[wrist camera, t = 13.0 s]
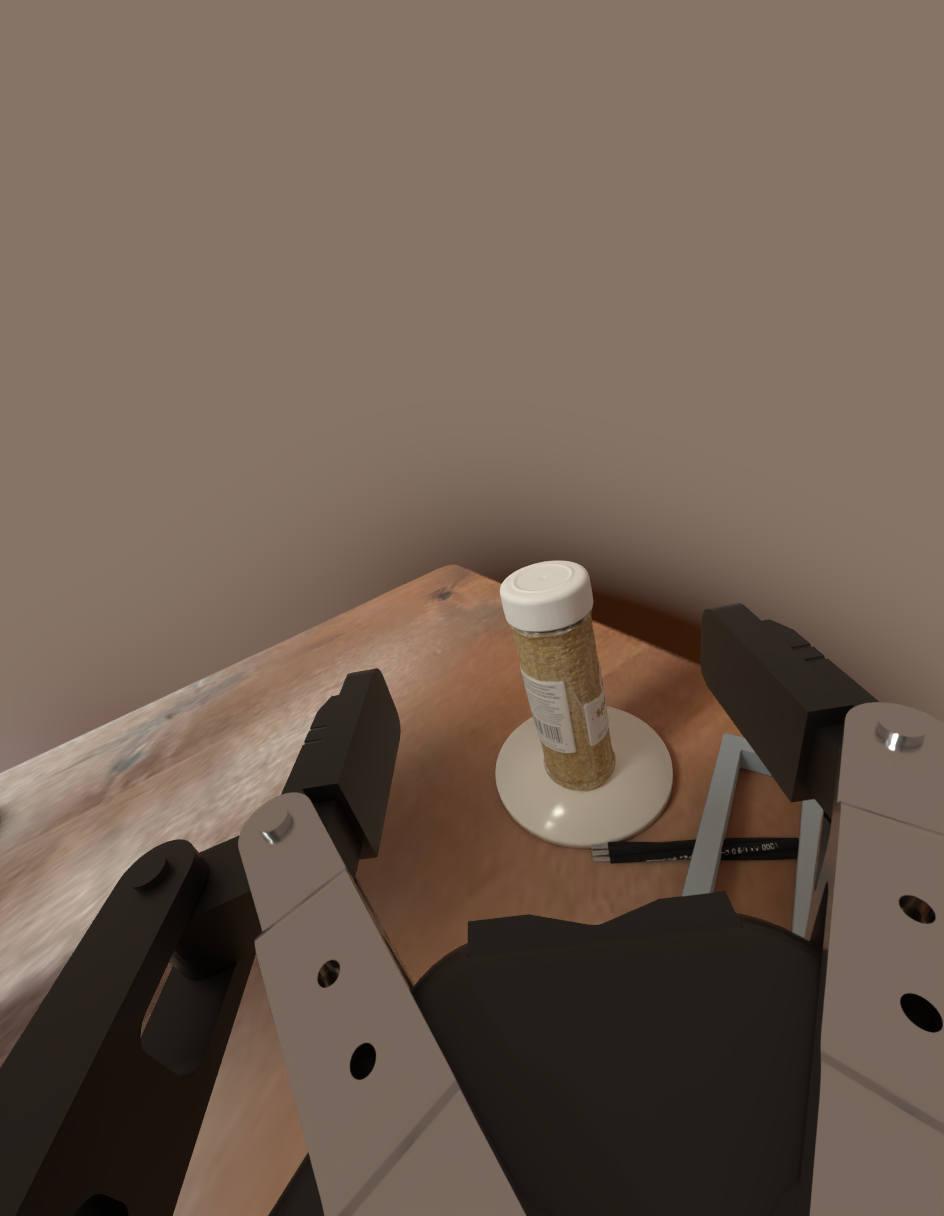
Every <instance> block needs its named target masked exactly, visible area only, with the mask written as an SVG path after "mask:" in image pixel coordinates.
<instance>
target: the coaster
mask: <svg viewBox="0 0 944 1216" xmlns="http://www.w3.org/2000/svg"><path fill="white" fill-rule="evenodd" d="M606 707H607V713H608V719H609V732H610V738H611V744H612V748H613V751H614V753H615V758H616V763H615V769H614V771H613V773H612V775H611V776H610V777H609V778H608V779H607V780H606V781H605V782H604V783H603V784H602V785H600V786H598V787H596V788H594V789H590V790H570V789H567V788H564V787H562V786H560V785H558V784H556V783H555V782H554V781H553V780H552V779H551V778H550V777H549V775H548V774H547V772H546V770H545V767H544V753H543V749H542V746H541V742H540V738H539V736H538V734H537V731H536V727H535V723H534V719H533V717H531V718H530V719H528V720H527V721H525V722H524V723H522V724H521V725H520V726H519V727H518V728H516V729H515V730H514V731H513V732H512V733H511V735H510V736H509V737H508V738H507V740H506V741H505V743H504V744H503V746H502V748H501V750H500V753H499V755H498V759H497V762H496V770H495V775H496V784H497V789H498V792H499V795H500V798H501V800H502V803H503V805H504V807H505V808H506V810H507V812H508V813H509V815H510V816H511V817H512V818H513V820H514V821H515V822H516V823H517V824H519V825H520V826H521V827H522V828H523V829H524V830H526V831H527V832H529V833H530V834H531V835H533V836H535V837H537V838H539V839H541V840H543V841H546V842H549V843H551V844H554V845H558V846H562V847H567V848H576V849H592V848H591V844H592V845H600V844H608V842H625V841H627V840H630V839H632V838H634V837H635V836H637V835H639V834H641V833H642V832H644V831H645V830H646V829H647V828H649V827H650V826H651V825H652V824H653V823H654V822H655V821H656V820H657V819H658V818H659V817H660V815H661V814H662V812H663V811H664V809H665V808H666V806H667V804H668V801H669V799H670V796H671V792H672V788H673V769H672V761H671V758H670V754H669V752H668V750H667V747H666V745H665V743H664V742H663V741H662V739H661V738H660V736H659V735H658V734H657V733H656V732H655V731H654V730H653V729H652V728H651V727H650V726H649V725H648V724H646V723H645V722H644V721H642V720H641V719H639V718H637V717H636V716H634V715H632V714H630V713H628V712H625V711H622V710H620V709H617V708H613V707H609V706H606Z"/></svg>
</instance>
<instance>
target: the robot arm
mask: <svg viewBox="0 0 944 1216" xmlns="http://www.w3.org/2000/svg"><path fill="white" fill-rule="evenodd" d="M701 670H702V674H703V677H704V680H705V682H706V684H707V686H708V688H709V689H710V691H711V692H712V693H713V695H714V696H715V697H716V699H717V700H718V702H719V703H720V704H721V706H722V707H723V709H724V710H725V711H726V713H727V714H728V715H729V717H730V718H731V720H732V721H733V722H734V724H735V725H736V727H737V728H738V729H739V731H740V732H741V734H742V735H743V736H744V738H745V739H746V740H747V742H748V743H749V745H750V746H751V747H752V749H753V750H754V752H755V753H756V754H757V756H758V757H759V758H760V760H761V761H762V763H763V764H764V765H765V767H766V768H767V770H768V771H769V772H770V774H771V775H772V777H773V778H774V779H775V781H776V782H777V783H778V785H779V786H780V788H781V789H782V790H783V792H784V793H785V795H786V796H787V797H788V799H789V800H790V801H791V802H798V801H805V800H812V799H815V800H816V801H817V803H818V804H819V805H820V807H821V808H822V809H823V813H822V817H821V822H820V830H819V838H818V846H817V854H816V862H815V870H814V878H813V887H812V895H811V902H810V909H809V915H808V920H807V925H806V931H805V936H804V938H803V937H801V936H799V935H797V934H795V933H793V932H791V931H789V930H787V929H785V928H783V927H781V926H778V925H775V924H773V923H770V922H768V921H765V920H762V919H758V918H755V917H751V916H747V915H743V914H737V913H735V911H734V909H733V907H732V905H731V902H730V900H729V898H728V896H727V894H726V892H725V891H723V892H715V893H706V894H698V895H689V896H681V897H672V898H664V899H658V900H656V901H654V902H651V903H649V904H647V905H644V906H642V907H640V908H637V909H635V910H633V911H631V912H628V913H626V914H624V915H621V916H619V917H617V918H615V919H612V920H610V921H608V922H605V923H603V924H600V925H587V924H581V923H575V922H569V921H564V920H558V919H552V918H546V917H540V916H534V915H520V916H512V917H503V918H495V919H486V920H478V921H469V922H468V943H467V944H465V945H462V946H460V947H458V948H457V949H455V950H454V951H452V952H450V953H449V954H447V955H445V956H444V957H443V958H442V959H440V960H439V961H438V962H437V963H435V964H434V965H433V966H432V967H431V968H430V969H429V970H428V971H427V972H426V973H425V974H424V975H423V976H422V977H421V978H420V979H419V980H418V982H417V983H416V984H414V982H413V980H412V978H411V977H410V975H409V973H408V971H407V969H406V968H405V966H404V964H403V962H402V961H401V959H400V957H399V955H398V954H397V952H396V950H395V948H394V946H393V944H392V943H391V941H390V939H389V937H388V935H387V933H386V932H385V930H384V928H383V926H382V924H381V922H380V920H379V919H378V917H377V915H376V913H375V911H374V909H373V908H372V906H371V904H370V902H369V900H368V898H367V896H366V895H365V893H364V891H363V889H362V887H361V885H360V884H359V882H358V880H357V878H356V877H355V875H356V871H357V866H358V862H359V859H366V858H374V857H377V856H378V850H379V845H380V840H381V835H382V829H383V824H384V819H385V814H386V808H387V803H388V798H389V793H390V787H391V782H392V777H393V772H394V766H395V761H396V756H397V751H398V746H399V740H400V721H399V716H398V713H397V710H396V708H395V705H394V702H393V700H392V697H391V695H390V692H389V690H388V687H387V685H386V682H385V680H384V677H383V675H382V673H381V671H380V670H379V669H377V668H376V669H371V670H365V671H360V672H354V673H349V674H348V675H347V677H346V679H345V681H344V684H343V687H342V689H341V692H340V694H339V695H336V696H331V697H330V698H329V700H328V701H327V702H326V703H325V704H324V705H323V706H322V707H321V708H320V710H319V711H318V712H317V714H316V716H315V719H314V721H313V723H312V725H311V728H310V729H311V731H309V732H308V734H307V737H306V739H305V741H304V742H305V745H303V746H302V748H301V750H300V753H299V755H298V757H297V760H296V762H295V764H294V766H293V769H292V771H291V773H290V775H289V778H288V780H287V782H286V785H285V787H284V789H283V791H282V794H281V795H280V796H277V797H275V798H273V799H271V800H269V801H268V802H266V803H265V804H263V805H262V806H261V807H260V808H258V809H257V810H256V811H255V812H254V813H253V814H252V815H251V816H250V818H249V819H248V820H247V821H246V823H245V825H244V826H243V828H242V830H241V833H240V835H239V836H237V837H235V838H232V839H230V840H228V841H225V842H223V843H221V844H219V845H216V846H214V847H212V848H209V849H207V850H205V851H202V852H200V853H199V852H198V851H197V850H196V849H195V847H194V846H193V845H192V844H191V843H190V842H189V841H186V840H180V839H179V840H172V841H169V842H166V843H163V844H161V845H159V846H157V847H155V848H153V849H152V850H150V851H149V852H147V853H146V854H144V855H143V856H142V857H140V858H139V859H138V860H137V861H136V862H135V863H134V864H133V865H132V866H131V867H130V868H129V869H128V870H127V871H126V872H125V873H124V874H123V876H122V877H121V878H120V880H119V881H118V883H117V884H116V886H115V887H114V889H113V891H112V892H111V894H110V895H109V897H108V898H107V900H106V902H105V903H104V905H103V906H102V908H101V910H100V911H99V913H98V914H97V916H96V918H95V919H94V921H93V922H92V924H91V925H90V927H89V929H88V930H87V932H86V933H85V935H84V937H83V938H82V940H81V941H80V943H79V945H78V946H77V948H76V949H75V951H74V952H73V954H72V956H71V957H70V959H69V960H68V962H67V964H66V965H65V967H64V968H63V970H62V972H61V973H60V975H59V976H58V978H57V980H56V981H55V983H54V984H53V986H52V987H51V989H50V991H49V992H48V994H47V995H46V997H45V999H44V1000H43V1002H42V1003H41V1005H40V1007H39V1008H38V1010H37V1011H36V1013H35V1014H34V1016H33V1018H32V1019H31V1021H30V1022H29V1024H28V1026H27V1027H26V1029H25V1030H24V1032H23V1034H22V1035H21V1037H20V1038H19V1040H18V1041H17V1043H16V1045H15V1046H14V1048H13V1049H12V1051H11V1053H10V1054H9V1056H8V1057H7V1059H6V1061H5V1062H4V1064H3V1065H2V1067H1V1068H0V1216H173V1213H174V1210H175V1207H176V1203H177V1200H178V1197H179V1194H180V1191H181V1188H182V1184H183V1181H184V1178H185V1175H186V1172H187V1169H188V1166H189V1162H190V1159H191V1156H192V1153H193V1150H194V1147H195V1144H196V1140H197V1137H198V1134H199V1131H200V1128H201V1125H202V1121H203V1118H204V1115H205V1112H206V1109H207V1106H208V1103H209V1099H210V1096H211V1093H212V1090H213V1087H214V1084H215V1080H216V1077H217V1074H218V1071H219V1068H220V1065H221V1062H222V1058H223V1055H224V1052H225V1049H226V1046H227V1043H228V1040H229V1036H230V1033H231V1030H232V1027H233V1024H234V1021H235V1017H236V1014H237V1011H238V1008H239V1005H240V1002H241V999H242V995H243V992H244V989H245V986H246V983H247V980H248V976H249V973H250V970H251V967H252V964H253V961H254V958H255V954H257V958H258V962H259V966H260V969H261V973H262V977H263V981H264V985H265V988H266V992H267V996H268V1000H269V1004H270V1007H271V1011H272V1015H273V1019H274V1023H275V1027H276V1030H277V1034H278V1038H279V1042H280V1046H281V1049H282V1053H283V1057H284V1061H285V1065H286V1068H287V1072H288V1076H289V1080H290V1084H291V1087H292V1091H293V1095H294V1099H295V1103H296V1106H297V1110H298V1114H299V1118H300V1122H301V1125H302V1129H303V1133H304V1137H305V1141H306V1144H307V1148H308V1153H307V1155H306V1157H305V1158H304V1160H303V1161H302V1163H301V1164H300V1166H299V1168H298V1169H297V1171H296V1172H295V1174H294V1176H293V1177H292V1179H291V1180H290V1182H289V1184H288V1185H287V1187H286V1188H285V1190H284V1191H283V1193H282V1195H281V1196H280V1198H279V1199H278V1201H277V1203H276V1204H275V1206H274V1207H273V1209H272V1211H271V1212H270V1214H269V1215H268V1216H944V723H943V722H942V721H940V720H938V719H937V718H935V717H933V716H931V715H929V714H927V713H925V712H922V711H920V710H917V709H914V708H911V707H908V706H903V705H900V704H894V703H884V702H879V701H878V700H876V699H875V698H874V697H873V696H871V695H870V694H869V693H868V692H867V691H866V690H864V689H863V688H862V687H861V686H860V685H859V684H857V683H856V682H855V681H854V680H853V679H851V678H850V677H849V676H848V675H847V674H845V673H844V672H843V671H842V670H841V669H839V668H838V667H837V666H836V665H835V664H834V663H832V662H831V661H830V660H829V659H825V658H824V655H823V654H822V653H820V652H819V651H818V650H817V649H816V648H815V647H811V646H810V644H809V642H807V641H806V640H805V639H804V638H802V637H801V636H800V635H799V634H798V633H797V632H795V631H794V630H793V629H790V628H788V627H786V626H783V625H781V624H779V623H776V622H774V621H772V620H765V621H761V620H760V619H759V618H758V617H756V616H755V615H754V614H753V613H752V612H751V611H750V610H749V609H747V608H746V607H745V606H744V605H743V604H740V603H737V604H732V605H726V606H721V607H715V608H710V609H706V610H704V612H703V615H702V633H701ZM169 962H170V963H171V964H172V965H173V967H172V970H171V972H170V974H169V976H168V978H167V981H166V983H165V985H164V987H163V990H162V992H161V994H160V996H159V998H158V1001H157V1003H156V1005H155V1007H154V1010H153V1012H152V1014H151V1016H150V1019H149V1021H148V1023H147V1025H146V1027H145V1030H144V1032H143V1034H142V1036H141V1027H142V1022H143V1019H144V1016H145V1013H146V1011H147V1009H148V1006H149V1004H150V1002H151V1000H152V998H153V996H154V993H155V991H156V989H157V987H158V985H159V982H160V980H161V978H162V976H163V974H164V972H165V969H166V967H167V965H168V963H169ZM140 1036H141V1039H140Z"/></svg>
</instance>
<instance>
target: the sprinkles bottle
mask: <svg viewBox="0 0 944 1216" xmlns="http://www.w3.org/2000/svg"><path fill="white" fill-rule="evenodd" d="M500 595H501V600H502V605H503V609H504V613H505V617H506V620H507V622H508V623H509V626H510V628H511V629H512V630H513V636H514V640H515V643H516V647H517V652H518V656H519V660H520V668H521V672H522V676H523V680H524V684H525V688H526V692H527V696H528V700H529V704H530V708H531V712H532V715H533V719H534V723H535V727H536V731H537V734H538V736H539V738H540V742H541V746H542V749H543V753H544V767H545V770H546V772H547V774H548V775H549V777H550V778H551V779H552V780H553V781H554V782H555V783H556V784H558V785H560V786H562V787H564V788H567V789H570V790H590V789H594V788H596V787H598V786H600V785H602V784H603V783H604V782H605V781H606V780H607V779H608V778H609V777H610V776H611V775H612V773H613V771H614V769H615V763H616V758H615V753H614V751H613V748H612V744H611V738H610V732H609V719H608V713H607V707H606V702H605V696H604V690H603V683H602V677H601V670H600V663H599V659H598V656H597V652H596V645H595V637H594V631H593V626H592V619H591V612H592V609H591V608H592V605H593V597H592V590H591V584H590V579H589V574H588V572H587V570H586V569H585V568H584V567H582V566H580V565H579V564H576V563H573V562H569V561H547V562H541V563H537V564H532V565H529V566H527V567H524V568H522V569H520V570H517V571H516V572H514V573H512V574H511V575H510V576H508V578H506V579H505V580H504V582H503V583H502V585H501V588H500Z"/></svg>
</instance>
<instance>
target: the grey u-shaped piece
mask: <svg viewBox="0 0 944 1216" xmlns="http://www.w3.org/2000/svg"><path fill="white" fill-rule="evenodd" d="M740 768H742V769H746V770H750V771H753V772H757V773H761V774H765V775H769V776H772V775H771V774H770V772H769V771H768V770H767V768H766V767H765V765H764V764H763V763H762V761H761V760H760V758H759V757H758V756H757V754H756V753H755V752H754V750H753V749H752V747H751V746H750V745H749V743H748V742H747V740H746V739H745V738H743V737H739V736H734V735H730V734H726V733H724V735H723V739H722V743H721V747H720V750H719V754H718V758H717V762H716V766H715V770H714V773H713V777H712V781H711V785H710V789H709V793H708V797H707V800H706V804H705V808H704V812H703V816H702V820H701V824H700V827H699V831H698V835H697V839H696V843H695V847H694V850H693V854H692V858H691V862H690V866H689V870H688V874H687V877H686V881H685V885H684V889H683V893H682V896H689V895H698V894H706V893H714V889H715V884H716V880H717V875H718V870H719V865H720V861H721V850H722V846H723V840H724V838H725V837H726V832H727V827H728V822H729V818H730V813H731V808H732V803H733V799H734V794H735V789H736V784H737V779H738V775H739V770H740ZM822 813H823V809H822V808H821V807H820V805H819V804H818V803H817V801H816V800H815V799H812V800H805V801H802V805H801V818H800V830H799V847H798V857H797V868H796V880H795V893H794V905H793V918H792V930H791V932H793V933H795V934H797V935H799V936H801V937H803V938H804V936H805V931H806V925H807V920H808V915H809V909H810V902H811V895H812V887H813V878H814V870H815V862H816V854H817V846H818V838H819V830H820V822H821V817H822Z"/></svg>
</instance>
